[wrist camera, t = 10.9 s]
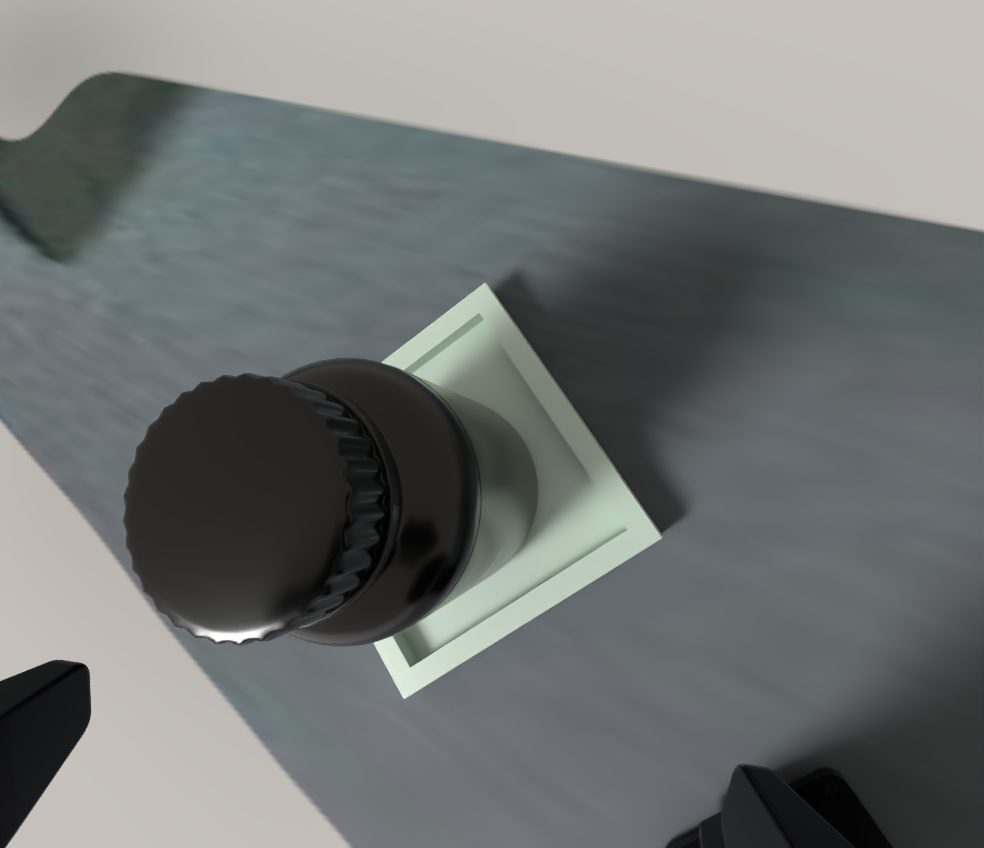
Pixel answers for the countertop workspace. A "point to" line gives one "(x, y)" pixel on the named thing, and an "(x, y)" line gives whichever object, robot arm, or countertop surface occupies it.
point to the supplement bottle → (323, 503)
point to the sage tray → (561, 491)
